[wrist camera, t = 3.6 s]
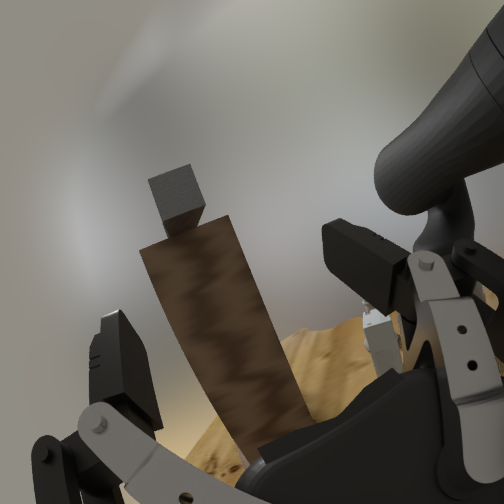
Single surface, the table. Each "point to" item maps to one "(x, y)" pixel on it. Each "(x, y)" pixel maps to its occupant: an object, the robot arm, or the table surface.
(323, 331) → the table surface
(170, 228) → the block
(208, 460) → the table surface
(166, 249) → the stand
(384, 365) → the skincare box
